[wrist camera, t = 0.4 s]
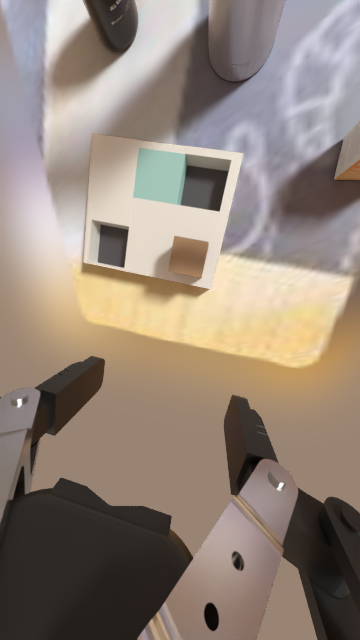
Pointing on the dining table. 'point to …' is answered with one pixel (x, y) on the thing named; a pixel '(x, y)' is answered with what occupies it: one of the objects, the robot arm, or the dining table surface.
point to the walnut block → (188, 256)
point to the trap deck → (156, 204)
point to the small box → (349, 156)
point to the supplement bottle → (114, 21)
